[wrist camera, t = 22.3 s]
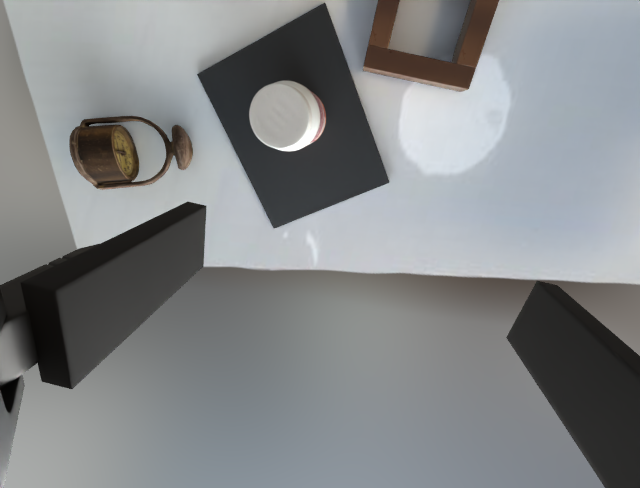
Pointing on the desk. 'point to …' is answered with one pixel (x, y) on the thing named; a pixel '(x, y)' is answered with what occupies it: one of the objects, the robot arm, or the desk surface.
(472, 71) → the holder
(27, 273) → the robot arm
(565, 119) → the desk surface
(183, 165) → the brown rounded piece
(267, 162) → the desk mat
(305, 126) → the pill bottle
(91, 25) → the desk surface
